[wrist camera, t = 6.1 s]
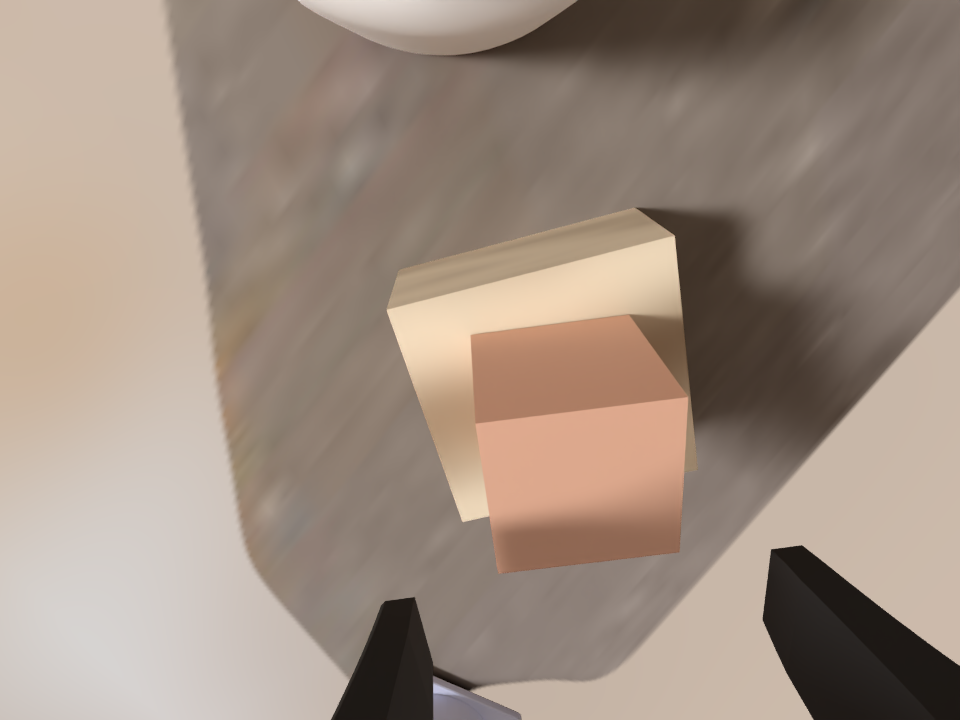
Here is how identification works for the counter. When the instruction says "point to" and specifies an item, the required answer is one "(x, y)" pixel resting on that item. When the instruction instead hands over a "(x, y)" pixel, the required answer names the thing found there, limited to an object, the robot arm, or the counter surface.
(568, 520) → the terracotta cube
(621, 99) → the counter surface
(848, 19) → the counter surface
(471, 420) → the birch block
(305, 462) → the counter surface
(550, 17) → the eye dropper bottle
